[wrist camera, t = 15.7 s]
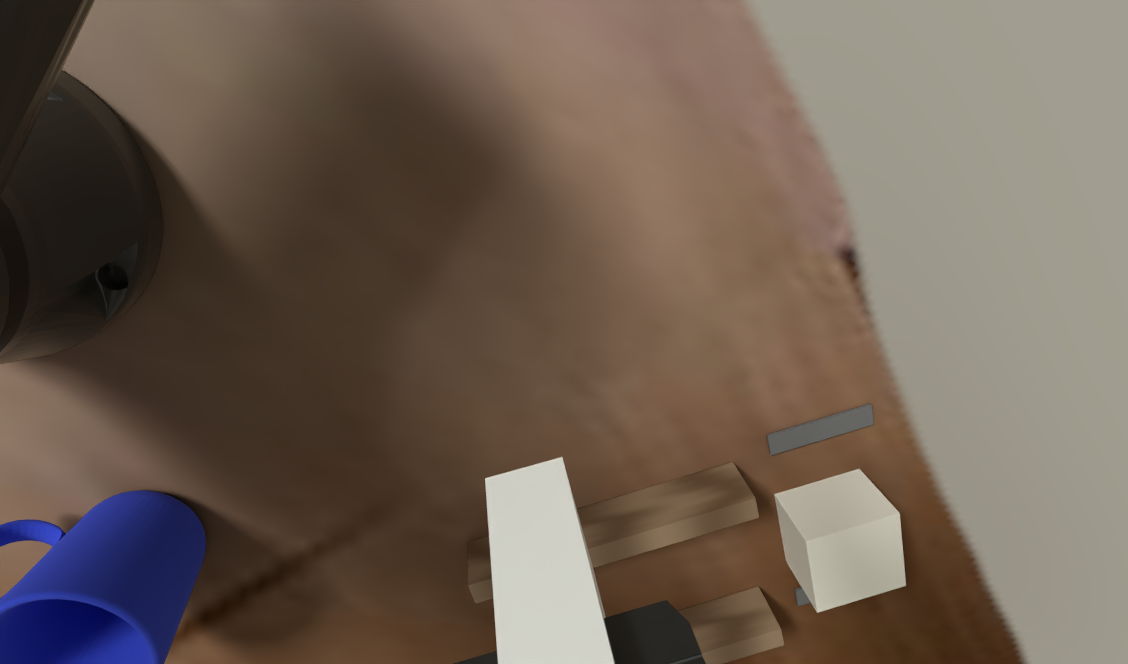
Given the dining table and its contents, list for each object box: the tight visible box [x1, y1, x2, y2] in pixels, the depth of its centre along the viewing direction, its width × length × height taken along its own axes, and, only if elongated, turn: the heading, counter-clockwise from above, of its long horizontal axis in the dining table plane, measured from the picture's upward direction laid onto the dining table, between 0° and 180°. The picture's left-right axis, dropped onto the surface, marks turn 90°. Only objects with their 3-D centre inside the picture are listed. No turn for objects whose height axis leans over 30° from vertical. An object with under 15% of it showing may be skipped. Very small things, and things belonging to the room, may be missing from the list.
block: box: [774, 469, 906, 613], centre depth 47 cm, size 6×6×5 cm
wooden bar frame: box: [468, 462, 784, 664], centre depth 48 cm, size 18×18×4 cm
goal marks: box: [767, 404, 874, 606], centre depth 49 cm, size 7×15×1 cm, turn 15°
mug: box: [0, 490, 206, 664], centre depth 38 cm, size 8×12×10 cm
